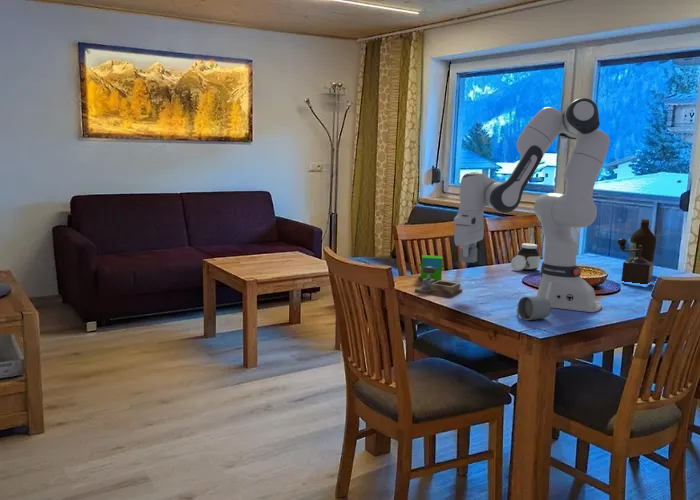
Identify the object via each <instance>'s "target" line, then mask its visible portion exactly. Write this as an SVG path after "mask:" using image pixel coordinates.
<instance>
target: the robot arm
mask: <svg viewBox="0 0 700 500" xmlns="http://www.w3.org/2000/svg"><path fill="white" fill-rule="evenodd" d="M600 122H601V121H600V115H599V109H598V105H597V104H596V103H595V101H593V100H592V99H591V98H586V97H585V98H584V97H581V98H578V99H575V100H573V101H572V102H570V103H569V105H568V106H567V108H566V109H565V110H558V109H557V108H555V107H552V106H546V107H543V108H541V109H540V110H539V111H538V112H537V113H535V115H534V116H533V117H532V118H531V119H530V120H529V122H528V123H527V124H526V126H524V128H523V129H522V131H521V132H520V134H519V136H518V139H517V141H516V150H517V151H518V154H519V156H520V157H519V161H518V163H517V165H516V166H515V167H514V170H512V172H511V173H510V175H509V177H508V179H507V180H505V181H504V182H501V181H497V180H494V179H493V178H491V177H489V176H488V175H486V174H484V172H481V171H471V172H468V173H464V175H463V176H462V177H461V179H460V185H459V195H458V196H459V206H458V212H457V214H456V215H455V217H453V218H454V219H453V224H454V229H453V230H454V232H453V233H454V234H453V235H454V237H453V239H454V240H453V241H454V242H453V243H454V244H455V246H456V247H461V248H462V249H463V256H464V257H468V256H469V250H468V247H471V246H474V247H476V248H477V243H478V242H480V241H482V240H483V239H484V237H485V235H484V234H485V232H484V231H485V225H484V212H485V210H484V209H485V207H488V208H490V209H494V210H496V211H498V212H499V213H503V214H507V213H510V212H511V213H512V212H513V211H514V210H516V209H517V208H518V206H520V202H521V199H522V195H523V192H524V190H525V188H526V186H527V185H528V184H529V181H530V180H531V178H532V177H533V176H534V173H535V172H536V171H537V168H538V166H539V165H540V163H541V161H542V158H543V157H544V155H545V153H546V152H547V151H548V149H549V148H550V147H551V145H552V144H553V142H554V141H555V140H556V138H557V137H558V136H559V137H563V138H564V137H565V138H567V139H569V140H576V144H575V147H574V149H573V151H572V153H571V156H570V158H569V159H568V162H567V163H566V164H567V165H566V166H565V169H564V170H563V175H562V176H563V179H564V180H565V182H566V188H565V191H564V193H559V192H549V193H544V194H541V195H538V197H537V199H536V200H535V202H534V205H533V211H534V214H535V216H536V217H537V218H538V220H539V222H540V225H541V228H542V233H543V239H544V240H543V241H544V245H543V248H544V249H543V260H542V262H541V266H540V282H539V287H538V290H537V293H536V296H535V297H544V298H546V299H547V300H548V301H549V303H550V306H551V309H552V308H553V309H563V310H571V311H579V312H588V313H594V312H598V311H600V310H601V309H602V303H600V302H599V301H596V292H595V289H594V287H592V285H590V283H588V282H587V281H586V280H585V279H584V278H582V276H581V274H582V267H581V266H578V265H576V263H577V254H578V253H577V252H578V241H576V239H575V238H574V236H573V234H572V232H571V229H570V228H573V229H575V228H576V229H577V228H586V227H590V226H591V225H593V223H594V222H595V220H596V218H597V215H598V207H597V205H596V204H595V201H594V189H595V184H596V181H597V179H598V176H599V175H600V172H601V169H602V167H603V165H604V162H605V160H606V157H607V155H608V151H609V147H610V144H611V143H610V142H611V140H610V137H609V135H608V134H607V133H606V132H604V131H603V130H601V129H599V127H600V126H601V125H600Z"/></svg>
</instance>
